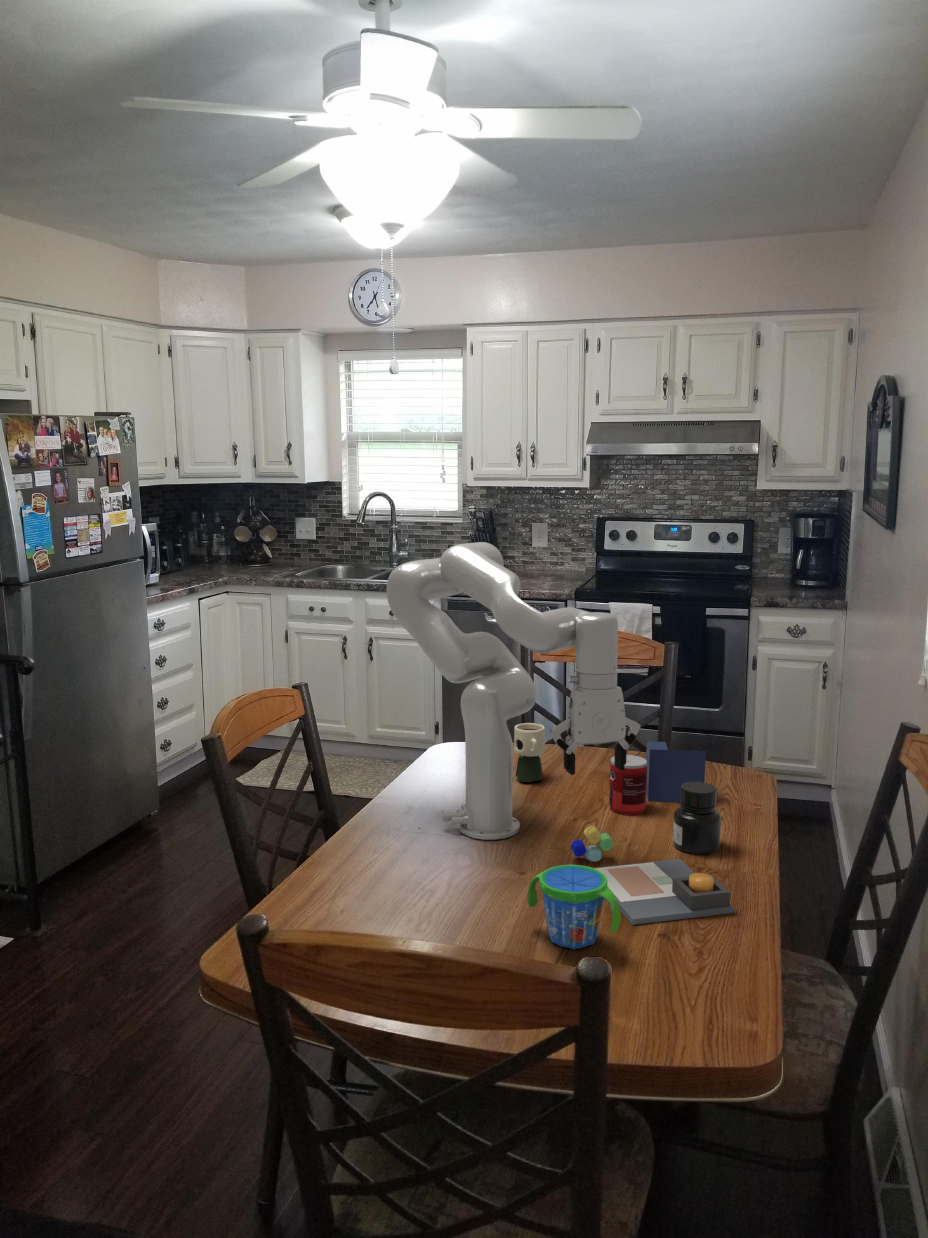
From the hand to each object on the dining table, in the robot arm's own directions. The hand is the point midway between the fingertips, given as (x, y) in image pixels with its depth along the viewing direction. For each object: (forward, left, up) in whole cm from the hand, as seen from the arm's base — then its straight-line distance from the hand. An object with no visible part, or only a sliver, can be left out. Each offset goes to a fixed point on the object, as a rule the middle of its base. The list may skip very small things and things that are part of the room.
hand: (595, 770), depth 176 cm
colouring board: (+6, -16, -17) cm, 24 cm away
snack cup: (-14, -28, -18) cm, 36 cm away
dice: (0, 0, -18) cm, 18 cm away
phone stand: (+31, +30, -18) cm, 47 cm away
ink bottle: (+22, +1, -18) cm, 28 cm away
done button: (+11, -22, -15) cm, 29 cm away
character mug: (+2, +46, -18) cm, 49 cm away
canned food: (+17, +23, -18) cm, 34 cm away
